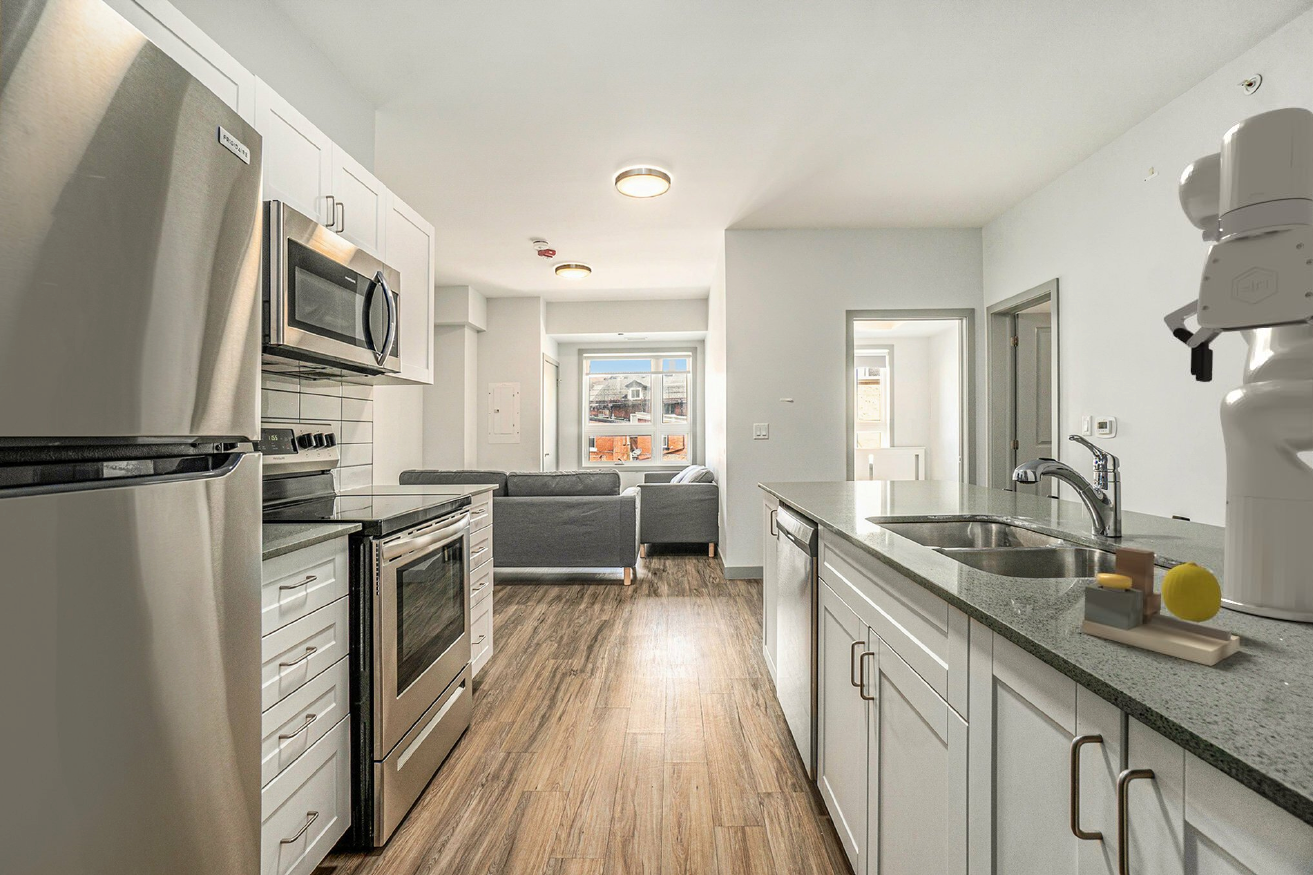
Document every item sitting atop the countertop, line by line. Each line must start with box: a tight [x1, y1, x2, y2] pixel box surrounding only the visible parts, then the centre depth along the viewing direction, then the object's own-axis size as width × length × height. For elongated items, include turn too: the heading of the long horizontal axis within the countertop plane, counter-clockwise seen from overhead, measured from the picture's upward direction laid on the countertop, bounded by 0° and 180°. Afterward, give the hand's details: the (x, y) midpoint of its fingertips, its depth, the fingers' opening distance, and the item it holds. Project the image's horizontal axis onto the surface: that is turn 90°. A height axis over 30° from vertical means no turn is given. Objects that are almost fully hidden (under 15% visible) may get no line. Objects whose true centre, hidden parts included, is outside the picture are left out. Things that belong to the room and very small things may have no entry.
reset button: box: [1096, 573, 1132, 593], centre depth 69 cm, size 3×3×5 cm
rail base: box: [1081, 582, 1241, 667], centre depth 67 cm, size 9×12×6 cm
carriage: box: [1114, 546, 1162, 622], centre depth 71 cm, size 4×4×8 cm
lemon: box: [1161, 561, 1222, 623], centre depth 73 cm, size 6×6×8 cm
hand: (1259, 378), depth 67 cm, fingers open, 9 cm apart
